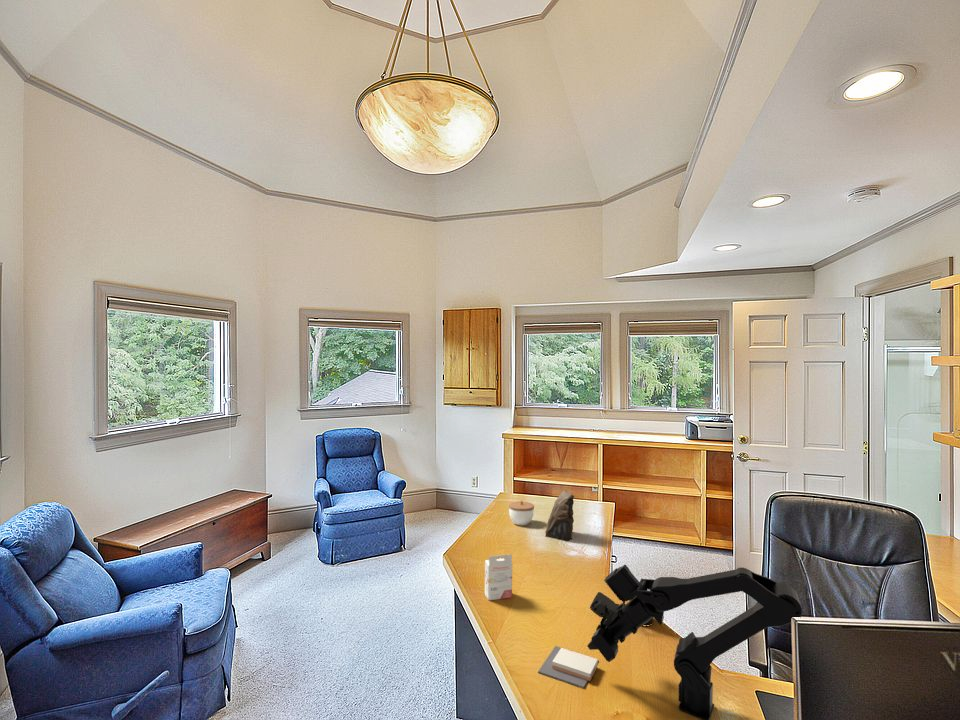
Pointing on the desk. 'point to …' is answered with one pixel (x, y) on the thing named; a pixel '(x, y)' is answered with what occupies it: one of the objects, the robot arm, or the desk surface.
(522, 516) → the lidded bowl
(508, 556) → the ink cartridge box
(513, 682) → the desk surface
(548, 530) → the brown rock
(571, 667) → the tile
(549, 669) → the gray pad
